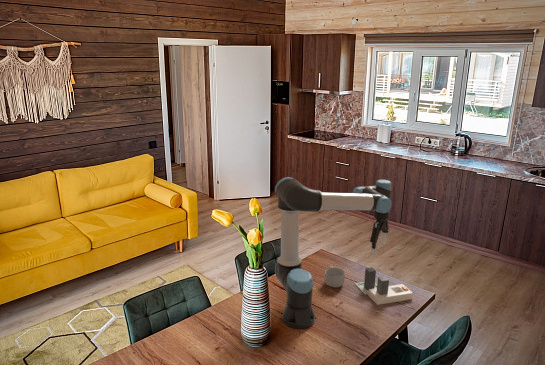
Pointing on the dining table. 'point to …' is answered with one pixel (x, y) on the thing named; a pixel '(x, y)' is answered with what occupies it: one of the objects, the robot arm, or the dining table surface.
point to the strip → (389, 292)
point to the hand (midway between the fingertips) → (378, 248)
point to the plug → (369, 278)
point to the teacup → (334, 276)
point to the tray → (362, 288)
